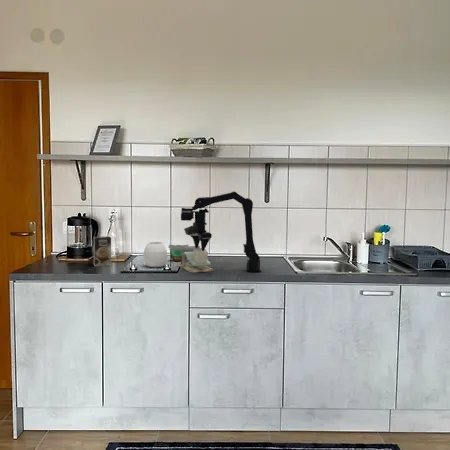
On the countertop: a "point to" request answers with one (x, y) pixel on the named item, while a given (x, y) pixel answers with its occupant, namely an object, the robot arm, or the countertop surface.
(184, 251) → the trapdoor
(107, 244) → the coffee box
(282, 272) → the countertop surface
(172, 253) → the food container
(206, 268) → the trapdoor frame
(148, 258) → the white round vase
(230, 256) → the countertop surface
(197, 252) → the beige cube
